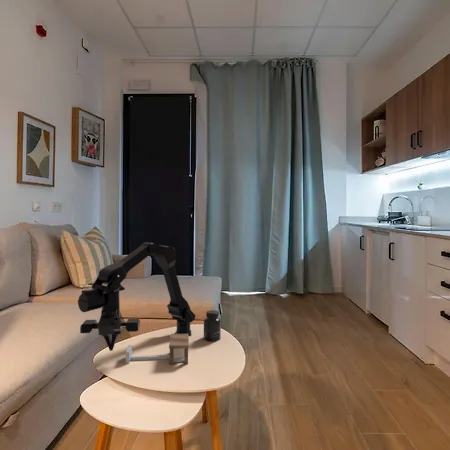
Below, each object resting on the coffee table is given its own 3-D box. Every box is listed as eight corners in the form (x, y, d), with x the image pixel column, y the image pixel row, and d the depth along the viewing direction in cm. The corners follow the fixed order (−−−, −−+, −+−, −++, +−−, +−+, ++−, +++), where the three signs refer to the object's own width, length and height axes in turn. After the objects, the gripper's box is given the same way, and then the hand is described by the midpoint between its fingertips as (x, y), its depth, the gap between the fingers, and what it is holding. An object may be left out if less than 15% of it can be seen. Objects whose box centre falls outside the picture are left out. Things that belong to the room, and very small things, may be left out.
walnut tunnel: (170, 352, 127) (170, 333, 126) (188, 351, 127) (188, 333, 127) (169, 365, 116) (169, 345, 116) (188, 365, 117) (188, 345, 116)
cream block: (173, 353, 124) (173, 342, 123) (185, 352, 124) (185, 341, 124) (173, 358, 120) (173, 346, 119) (185, 357, 120) (185, 346, 120)
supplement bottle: (218, 345, 136) (218, 315, 135) (201, 344, 137) (201, 313, 137) (222, 338, 143) (222, 309, 142) (206, 337, 144) (206, 308, 143)
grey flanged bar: (128, 355, 123) (128, 344, 123) (186, 353, 126) (186, 342, 125) (125, 364, 116) (125, 352, 116) (186, 361, 119) (186, 350, 118)
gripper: (74, 313, 110) (75, 362, 110) (135, 311, 111) (135, 359, 112) (84, 303, 121) (85, 347, 121) (140, 301, 122) (140, 345, 123)
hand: (111, 350), depth 119 cm, fingers closed
